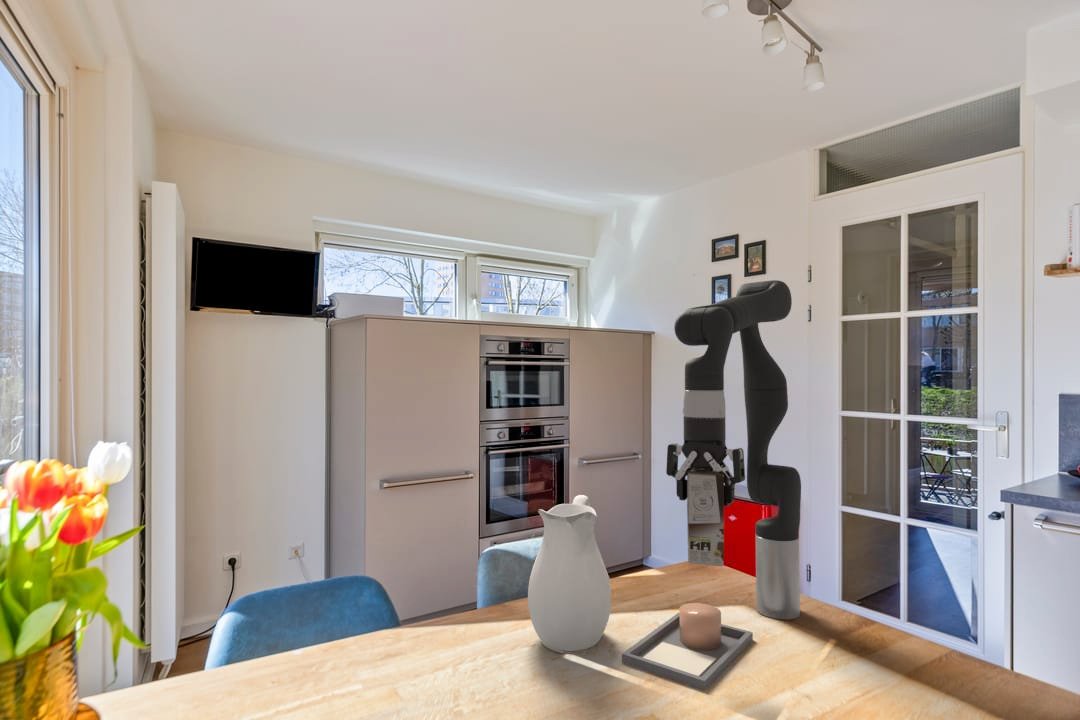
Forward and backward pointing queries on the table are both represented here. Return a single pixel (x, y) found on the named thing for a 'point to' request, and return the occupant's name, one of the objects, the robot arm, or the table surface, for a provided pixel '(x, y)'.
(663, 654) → the serving tray
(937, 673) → the table surface
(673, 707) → the table surface
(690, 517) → the coffee box
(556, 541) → the pitcher
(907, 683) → the table surface
